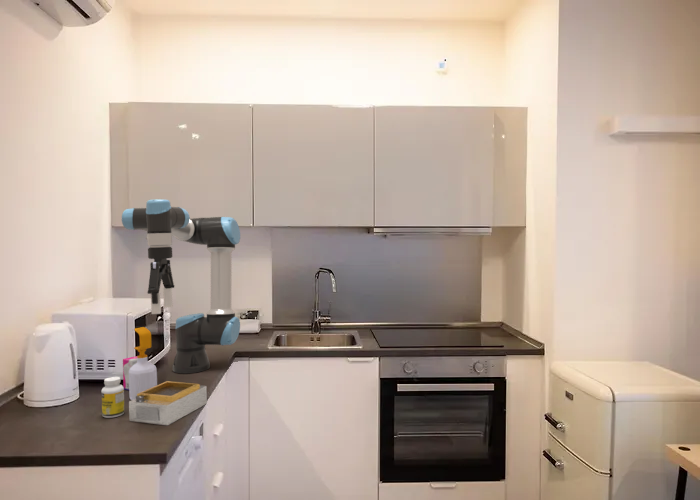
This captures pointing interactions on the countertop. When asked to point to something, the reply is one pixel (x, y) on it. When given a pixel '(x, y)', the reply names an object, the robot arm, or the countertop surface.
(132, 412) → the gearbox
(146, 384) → the spray bottle
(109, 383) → the pill bottle
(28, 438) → the countertop surface
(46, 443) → the countertop surface
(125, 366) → the supplement box
